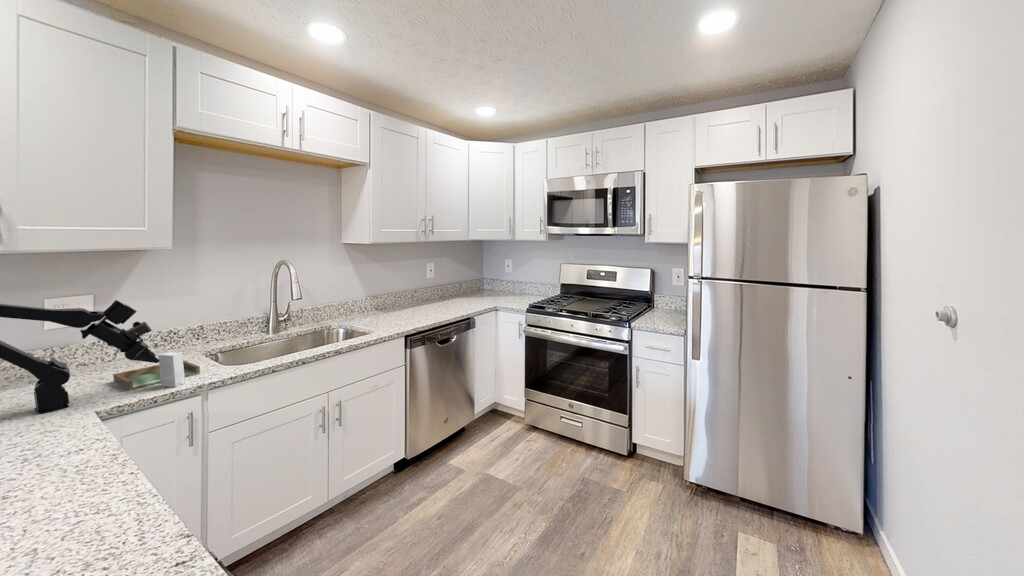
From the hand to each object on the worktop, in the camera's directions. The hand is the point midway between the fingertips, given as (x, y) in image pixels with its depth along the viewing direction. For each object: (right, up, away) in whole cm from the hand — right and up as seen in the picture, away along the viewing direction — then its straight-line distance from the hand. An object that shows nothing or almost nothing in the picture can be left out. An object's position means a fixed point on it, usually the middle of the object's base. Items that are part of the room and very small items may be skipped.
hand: (156, 359), depth 151 cm
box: (-9, -9, +11) cm, 17 cm away
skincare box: (+3, -11, +4) cm, 12 cm away
